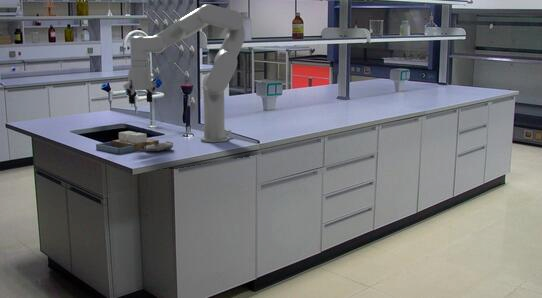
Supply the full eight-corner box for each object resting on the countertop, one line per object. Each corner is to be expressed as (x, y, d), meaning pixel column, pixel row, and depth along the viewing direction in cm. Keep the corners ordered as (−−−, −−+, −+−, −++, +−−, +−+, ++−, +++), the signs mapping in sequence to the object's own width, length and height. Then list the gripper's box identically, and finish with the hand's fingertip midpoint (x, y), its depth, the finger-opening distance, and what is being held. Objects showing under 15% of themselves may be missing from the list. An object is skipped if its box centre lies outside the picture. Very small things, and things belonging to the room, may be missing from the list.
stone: (151, 153, 247) (151, 146, 246) (141, 151, 254) (141, 143, 253) (176, 149, 254) (176, 142, 254) (166, 147, 261) (165, 139, 261)
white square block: (138, 140, 263) (138, 132, 262) (146, 141, 259) (146, 133, 259) (128, 142, 259) (128, 134, 258) (136, 143, 255) (136, 135, 255)
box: (111, 147, 263) (111, 141, 262) (134, 151, 253) (134, 145, 252) (96, 149, 257) (96, 144, 256) (118, 154, 247) (118, 148, 246)
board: (137, 143, 273) (137, 136, 272) (159, 146, 264) (158, 140, 263) (112, 147, 262) (112, 140, 262) (133, 151, 253) (133, 144, 252)
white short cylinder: (129, 138, 267) (128, 131, 267) (136, 139, 264) (136, 132, 263) (119, 140, 263) (118, 132, 262) (126, 141, 260) (126, 133, 259)
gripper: (149, 63, 270) (150, 100, 274) (118, 64, 257) (119, 103, 261) (160, 64, 266) (161, 102, 269) (128, 65, 253) (129, 105, 256)
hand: (140, 102), depth 265 cm, fingers open, 9 cm apart
